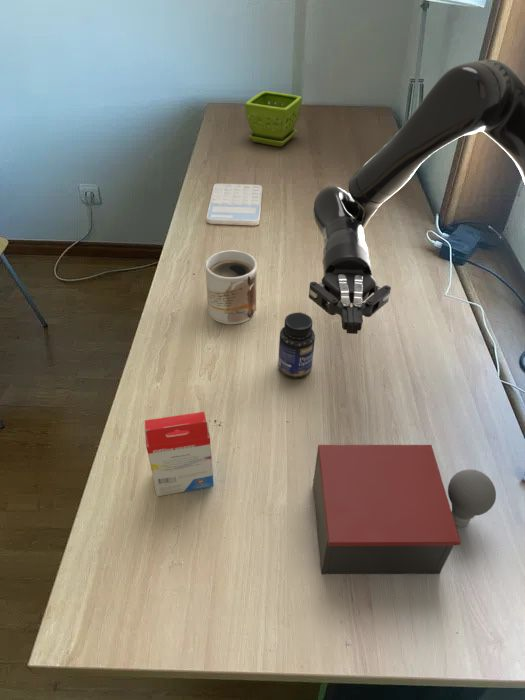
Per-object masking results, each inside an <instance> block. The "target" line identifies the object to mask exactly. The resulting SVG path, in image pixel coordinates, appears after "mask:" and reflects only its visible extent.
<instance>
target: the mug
mask: <svg viewBox="0 0 525 700" xmlns="http://www.w3.org/2000/svg"><path fill="white" fill-rule="evenodd" d="M204 265H205V278H206V279H205V283H206V301H207V312H208V315H209V316H210V317H211V318H212V319H213V320H214V321H216V322H218V323H221V324H225V325H239V324H243V323H246V322H248V321H250V320H251V319H252V318H253V317H254V316H255V315H256V312H257V282H258V281H257V280H258V279H257V275H258V273H257V271H258V270H257V269H258V264H257V260H256V258H255V257H253V255H251V254H249V253H247V252H245V251H242V250H236V249H235V250H234V249H229V250H228V249H227V250H221V251H218V252H215V253H213V254H212V255H210V256H209V257H208V258H207V259H206V261H205V264H204Z"/></svg>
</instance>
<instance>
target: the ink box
mask: <svg viewBox="0 0 525 700" xmlns="http://www.w3.org/2000/svg"><path fill="white" fill-rule="evenodd" d="M144 434H145V435H144V436H145V448H146V452H147V455H148V456H147V457H148V461H149V466H150V470H151V476H152V480H153V485H154V491H155V494H156V496H157V497H160V496H168V495H173V494H179V493H185V492H191V491H196V490H202V489H207V488H208V489H209V488H213V487H214V486H215V484H214V473H213V472H214V471H213V459H212V447H211V446H212V444H211V436H210V430H209V426H208V421H207V417H206V413H205V411H199V412H192V413H187V414H179V415H172V416H166V417H165V416H164V417H159V418H151V419H145V420H144Z"/></svg>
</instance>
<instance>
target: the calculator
mask: <svg viewBox="0 0 525 700" xmlns="http://www.w3.org/2000/svg"><path fill="white" fill-rule="evenodd" d="M262 198H263V186H262V185H260V184H246V183H214V184H213V187H212V191H211V195H210V200H209V204H208V209H207V213H206V218H205V219H206V223H207V224H209V225H230V226H258V225H259V224H260V221H261V210H262V200H263V199H262Z"/></svg>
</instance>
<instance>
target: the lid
mask: <svg viewBox="0 0 525 700" xmlns="http://www.w3.org/2000/svg"><path fill="white" fill-rule="evenodd" d="M317 451H318V455H319V464H320V473H321V482H322V491H323V500H324V510H325V519H326V528H327V537H328V546H453V547H454V546H460V544H461V539H460V536H459V532H458V529H457V526H456V525H455V522H454V519H453V515H452V508H451V505H450V502H449V498H448V494H447V492H446V489H445V486H444V482H443V479H442V476H441V472H440V469H439V466H438V462H437V459H436V456H435V452H434V448H433V446H432V444H318V445H317Z"/></svg>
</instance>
